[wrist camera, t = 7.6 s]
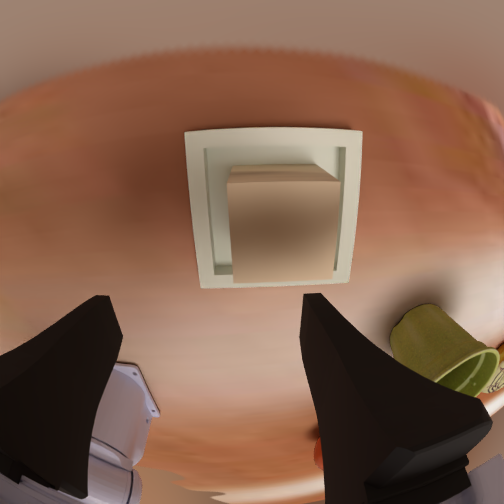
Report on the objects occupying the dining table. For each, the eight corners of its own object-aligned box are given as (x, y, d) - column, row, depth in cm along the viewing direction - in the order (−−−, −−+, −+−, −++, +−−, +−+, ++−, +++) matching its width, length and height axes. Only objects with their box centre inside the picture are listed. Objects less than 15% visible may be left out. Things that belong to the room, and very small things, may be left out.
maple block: (313, 239, 19) (332, 279, 14) (237, 242, 19) (233, 283, 14) (315, 164, 17) (340, 181, 12) (232, 165, 17) (226, 183, 12)
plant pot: (369, 308, 22) (410, 387, 14) (457, 273, 21) (512, 331, 13) (374, 372, 26) (399, 439, 18) (448, 341, 25) (483, 397, 17)
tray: (341, 269, 20) (348, 282, 19) (204, 274, 20) (200, 288, 19) (351, 129, 16) (362, 131, 14) (190, 131, 16) (184, 132, 14)
